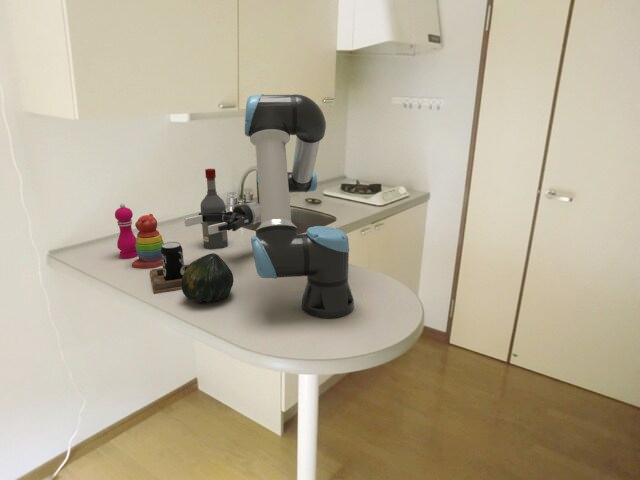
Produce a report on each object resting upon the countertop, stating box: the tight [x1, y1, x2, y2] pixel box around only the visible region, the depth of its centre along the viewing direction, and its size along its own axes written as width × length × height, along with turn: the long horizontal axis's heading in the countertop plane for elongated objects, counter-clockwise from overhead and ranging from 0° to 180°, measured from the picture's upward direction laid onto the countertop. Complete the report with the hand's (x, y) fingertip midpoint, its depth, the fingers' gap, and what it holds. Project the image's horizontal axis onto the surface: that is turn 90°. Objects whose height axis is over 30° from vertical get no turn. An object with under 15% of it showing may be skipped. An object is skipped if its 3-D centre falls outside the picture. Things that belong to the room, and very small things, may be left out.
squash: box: [182, 252, 234, 303], centre depth 145 cm, size 14×15×15 cm
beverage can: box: [161, 241, 185, 281], centre depth 156 cm, size 7×7×12 cm
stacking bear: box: [131, 213, 165, 269], centre depth 171 cm, size 11×10×18 cm
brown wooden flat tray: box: [149, 263, 191, 294], centre depth 160 cm, size 18×16×3 cm
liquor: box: [200, 168, 229, 250], centre depth 187 cm, size 9×9×30 cm
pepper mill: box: [114, 202, 138, 260], centre depth 177 cm, size 7×7×20 cm
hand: (196, 226), depth 160 cm, fingers open, 13 cm apart
